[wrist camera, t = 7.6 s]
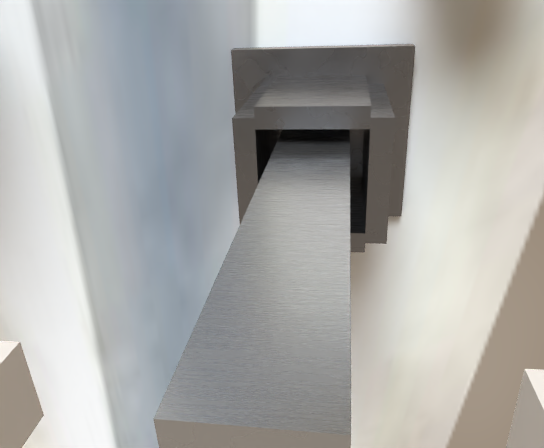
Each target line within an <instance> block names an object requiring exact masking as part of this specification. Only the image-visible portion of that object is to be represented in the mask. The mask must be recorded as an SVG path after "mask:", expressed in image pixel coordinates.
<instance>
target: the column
mask: <svg viewBox="0 0 544 448" xmlns="http://www.w3.org/2000/svg"><path fill="white" fill-rule="evenodd" d="M154 423H155V428H156V434H157V439H158V444H159V448H350V446H351V306H350V129H283V130H282V132H281V134H280V136H279V139H278V141H277V143H276V145H275V148H274V150H273V152H272V154H271V157H270V159H269V161H268V163H267V166H266V168H265V170H264V172H263V175H262V177H261V179H260V181H259V184H258V186H257V188H256V190H255V193H254V195H253V197H252V199H251V202H250V204H249V206H248V208H247V210H246V213H245V215H244V217H243V219H242V222H241V224H240V226H239V228H238V231H237V233H236V235H235V237H234V240H233V242H232V244H231V246H230V249H229V251H228V253H227V255H226V258H225V260H224V262H223V264H222V267H221V269H220V271H219V273H218V276H217V278H216V280H215V282H214V285H213V287H212V289H211V291H210V294H209V296H208V298H207V300H206V303H205V305H204V307H203V309H202V311H201V314H200V316H199V318H198V320H197V323H196V325H195V327H194V329H193V332H192V334H191V336H190V338H189V341H188V343H187V345H186V347H185V350H184V352H183V354H182V356H181V359H180V361H179V363H178V365H177V368H176V370H175V372H174V374H173V377H172V379H171V381H170V383H169V386H168V388H167V390H166V392H165V395H164V397H163V399H162V401H161V404H160V406H159V408H158V410H157V412H156V415H155V417H154Z"/></svg>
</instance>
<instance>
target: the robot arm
mask: <svg viewBox="0 0 544 448" xmlns="http://www.w3.org/2000/svg"><path fill="white" fill-rule="evenodd" d="M43 416H44V414H43V411H42V408H41V405H40V402H39V399H38V396H37V393H36V390H35V387H34V384H33V381H32V377H31V374H30V371H29V368H28V365H27V362H26V359H25V356H24V353H23V350H22V347H21V344H20V342H16V341H0V448H22V446H23V445H24V444H25V442H26V441H27V439H28V438H29V436H30V435H31V433H32V432H33V430H34V429H35V427H36V426H37V424H38V423H39V421H40V420H41V418H42V417H43ZM506 448H544V370H537V369H525V370H524V375H523V378H522V382H521V387H520V391H519V395H518V399H517V404H516V408H515V412H514V417H513V421H512V426H511V429H510V434H509V438H508V442H507V446H506Z"/></svg>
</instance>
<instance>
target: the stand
mask: <svg viewBox="0 0 544 448" xmlns="http://www.w3.org/2000/svg"><path fill="white" fill-rule="evenodd" d="M414 51H415V45H414V44H391V45H350V46H308V47H267V48H234V49H232V50H231V55H232V69H233V83H234V98H235V112H236V114H235V115H234V117H233V118H232V123H233V137H234V150H235V164H236V178H237V191H238V205H239V219H240V224H241V222H242V219H243V217H244V215H245V213H246V210H247V208H248V206H249V204H250V202H251V199H252V197H253V195H254V193H255V190H256V188H257V186H258V184H259V181H260V179H261V177H262V175H263V172H264V170H265V168H266V166H267V163H268V161H269V159H270V157H271V154H272V152H273V150H274V148H275V145H276V143H277V141H278V139H279V136H280V134H281V132H282V130H283V129H350V252H364V250H365V243H383V244H386V241H387V226H388V216H401V213H402V200H403V188H404V175H405V163H406V151H407V138H408V126H409V113H410V101H411V88H412V76H413V64H414Z"/></svg>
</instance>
